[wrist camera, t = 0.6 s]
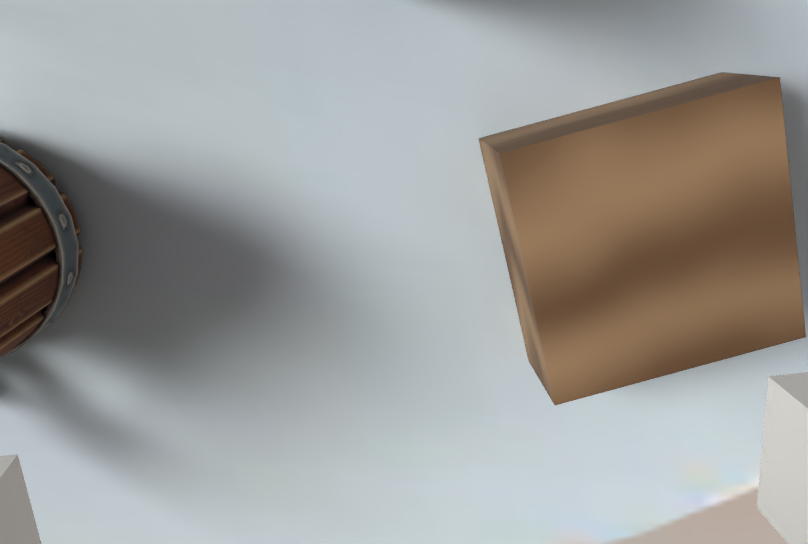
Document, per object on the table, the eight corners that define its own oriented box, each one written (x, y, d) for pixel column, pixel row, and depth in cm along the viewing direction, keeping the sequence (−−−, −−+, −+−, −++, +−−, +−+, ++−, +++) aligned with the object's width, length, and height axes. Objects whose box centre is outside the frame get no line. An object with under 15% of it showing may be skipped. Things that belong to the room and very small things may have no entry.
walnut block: (478, 138, 36) (499, 153, 31) (721, 72, 36) (779, 77, 31) (529, 361, 40) (554, 405, 35) (750, 301, 40) (806, 337, 35)
